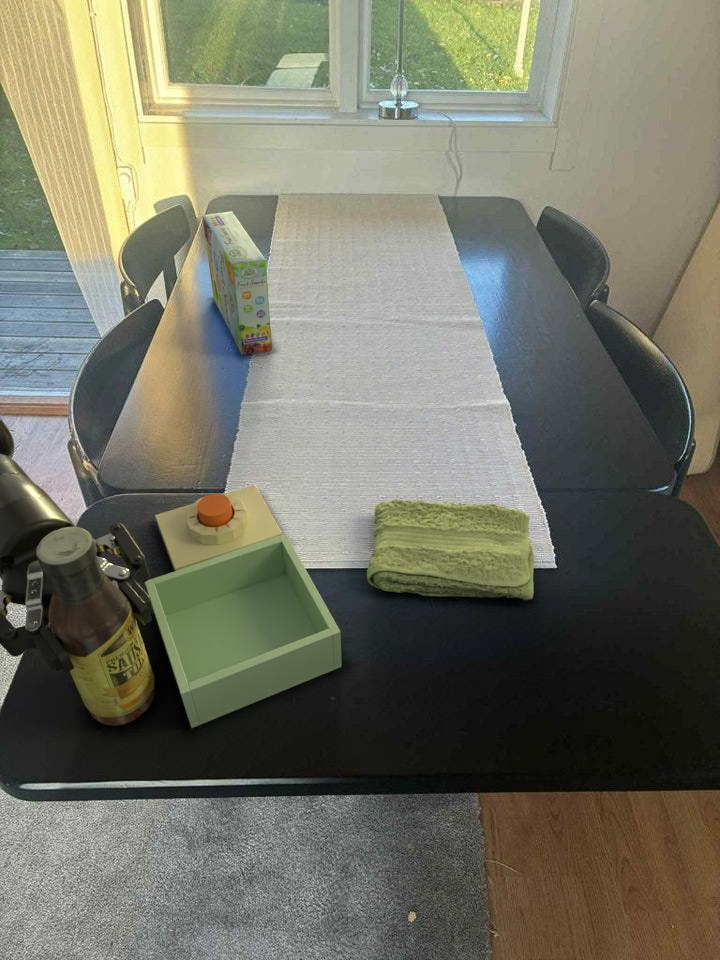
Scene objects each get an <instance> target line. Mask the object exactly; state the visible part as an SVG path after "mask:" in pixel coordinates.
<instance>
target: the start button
mask: <svg viewBox="0 0 720 960" xmlns="http://www.w3.org/2000/svg"><path fill="white" fill-rule="evenodd" d="M222 494H223V493H211V494H207V495H205V496H202V497H201V498H202V499H201V500H200V501H199V503H198V505H197V509H198V514H199V518H200V521H201V523H202V524H203V525H205V526H207V527H219V526H223V525H225V524H227V523H228V522H229V521H230V520H231V518H232V508H231V502H230V500H229V498H228V497H227V496H225V495H222Z"/></svg>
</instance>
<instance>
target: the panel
mask: <svg viewBox="0 0 720 960" xmlns="http://www.w3.org/2000/svg"><path fill="white" fill-rule="evenodd" d="M221 494H222V495H225V496H227V497H228V498H229V500H230V502H231V508H232V518H231V520H230V521H229V522H228V523H227V524H225V525H223V526H219V527H207V526H205V525H203V524H202V523H201V521H200V518H199V514H198V509H197V505H198V503H199V501H200V500H201V499H202V498H203V497H200V498H198V499H197V500H196V501H195V502H193V503H190V504H187V505H184V506H181V507H177V508H173V509H171V510H168V511H164V512H161V513H158V514H154V517H155V520H156V524H157V528H158V531H159V534H160V536H161V539H162V542H163V544H164V547H165V549H166V552H167V555H168V557H169V560H170V563H171V565H172V568H173V572H175V571H178V570H181V569H184V568H187V567H190V566H193V565H196V564H199V563H202V562H205V561H208V560H211V559H214V558H217V557H220V556H223V555H226V554H229V553H232V552H235V551H238V550H241V549H244V548H247V547H250V546H253V545H256V544H259V543H262V542H265V541H268V540H271V539H274V538H277V537H279V536H282V535H283V532H282V531H281V529H280V527H279V524H278V523H277V522H276V520H275V518H274V516H273V514H272V512H271V511H270V508H269V507H268V504H267V503H266V501H265V500H264V498H263V496H262V494H261V492H260V491H259V489H258V487H257V485H256V484H253V485H249V486H246V487H243V488H240V489H237V490H233V491H230V492H227V493H221Z"/></svg>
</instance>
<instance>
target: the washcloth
mask: <svg viewBox="0 0 720 960" xmlns="http://www.w3.org/2000/svg"><path fill="white" fill-rule="evenodd" d="M530 515H531V514H530V513H526V512H524V511H522V510H521V509H519V508H518V509H517V508H510V507H506V506H502V505H497V504H492V503H491V504H489V503H486V504H482V503H480V504H477V503H473V504H472V503H462V502H458V503H454V502H449V503H447V502H436V501H433V502H430V501H427V500H423V499H419V500H415V499H411V500H406V499H405V500H402V499H393V500H385V501H380V502H379V503H377V504H376V505H375V509H374V519H373V521H374V528H373V535H372V537H374V538H375V540H374V550H373V552H372V553H371V556H370V560H369V562H368V568H367V570H366V579H367V583H368V584H370V585H371V587H374V588H377V589H379V590H381V591H384V592H389V593H398V594H399V593H408V594H409V593H410V594H418V595H420V596H423V597H439V598H441V597H461V598H462V597H464V598H501V597H502V598H503V597H505V598H506V599H509V598H510V599H521V600H524V601H528V600H533V597H534V594H535V591H534V588H535V587H534V571H535V569H534V568H535V567H534V564H535V555H534V550H533V547H532V541H531V539H530V531H529V530H530V529H529V528H530V527H529V526H530V525H529V524H530V518H531V517H530Z"/></svg>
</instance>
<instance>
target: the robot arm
mask: <svg viewBox="0 0 720 960" xmlns="http://www.w3.org/2000/svg"><path fill="white" fill-rule="evenodd" d="M14 454H15V440H14V437H13V435H12V432H11V431H10V429H9V428H8V426H7V424H6V423H5V422H4V420H3V419H2V418H1V417H0V580H1V581H2V582H1V589H0V645H1V647H2V648H3V649H4V650H5V651H6V652H7V653H8V654H9V655H10V656H11V657H14V658H15V657H19V656H21V655H23V654H24V653H25V652H26V650H29V649H36V650H38V651H37V652H39V654H40V655H41V656H42V658H43V659H44V661H45V662H46V664H47V665H48V666H49V668H50V669H51V670H52V671H55V672H58V671H60V670H61V669H62V670H63V671H64V672H65V674H68V673H70V671H71V670H72V669H74V666H73V664H72V662H71V659H70V657H69V655H68V654H67V652H66V651H65V649H64V648H63V646H62V645H61V644H60V642H59V641H58V640H57V638H56V636H55V634H54V632H53V630H52V627H51V625H50V621H49V605H50V602H51V597H52V594H53V590H52V584H51V583H50V580H49V577H48V575H47V574H46V573H45V572H44V571H43V570H42V569H41V566H40V564H39V562H38V559H37V556H36V549H37V547H38V545H39V543H40V542H41V540H42V539H43V538H44V537H45V536H47V535H48V534H50V533H52V532H53V531H56V530H59V529H61V528H66V527H77V526H76V525H75V523H74V522H73V521H72V520H71V518H69V517H68V515H67V514H66V513H65V512H64V511H63V510H62V509H61V508H60V506H59V505H58V504H57V503H56V502H55V500H53V498H52V497H51V496H50V495H49V494H48V493H47V492H46V491H45V490H44V489H43V488H41V486H39V485H38V484H37V483H36V482H34V481H33V480H32V479H31V477H30V476H29V475H28V474H27V473H26V472H25V470H24V469H23V468H22V467H21V466H20V465H19V463H17V462H16V461H15V460H14V459H13V457H14ZM109 530H110V532H109V533H107V534H105V535H103V536H100V537H99V538H96V539H95V538H94V537H93V540H94V542H95V544H96V548H97V555H96V556H97V558H98V561H99V564H100V567H101V568H102V570H103V572H104V574H105V575H106V576H107V577H108V579H109V580H110V581H111V582H112V583H113V584H114V585H115V586H116V587H117V588H118V589H119V590H120V591H121V592H122V593H123V594H124V595H125V596H126V597H127V598H128V599H129V601H130V603H131V606H132V609H133V612H134V615H135V617H136V618H137V619H138V620H139V622H141V623H142V624H143V625H144V626H145V625H147V624H149V623H150V622H152V620H153V617H152V615H151V614H153V613H154V611H153V606H152V603H151V600H150V597H149V595H148V592H146V590H145V589H143V588H142V586H141V585H140V584H142V583H145V582H146V581H148V580H150V579H151V574H150V571H149V569H148V566H147V562H146V561H147V560H146V557H145V555H144V553H143V552H142V551H141V548H139V546H138V544H137V543H136V541H135V540H134V538H133V537H132V535H131V534H130V533H129V531H128V530H127V528H126V527H125V525H124V524H123V523H121V522H116V523H112V524H111V526H110V527H109ZM102 553H109V554H110V555H112V556H115V558H120V557H121V558H122V559H123V561H124V563H125V564H126V567H123V566H119V565H116V564H113V563H111V562H109V561H108V560H107V559H106V558H104V557H102ZM10 603H11V604H14V605H21V606H25V608H26V615H25V623H24V624H25V625H22V626H19V627H15V626H14V625H13V624H12V623H11V622H10V621H9V619H8V618H7V615H8V614H9V611H8V609H7V607H8V605H10Z"/></svg>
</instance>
